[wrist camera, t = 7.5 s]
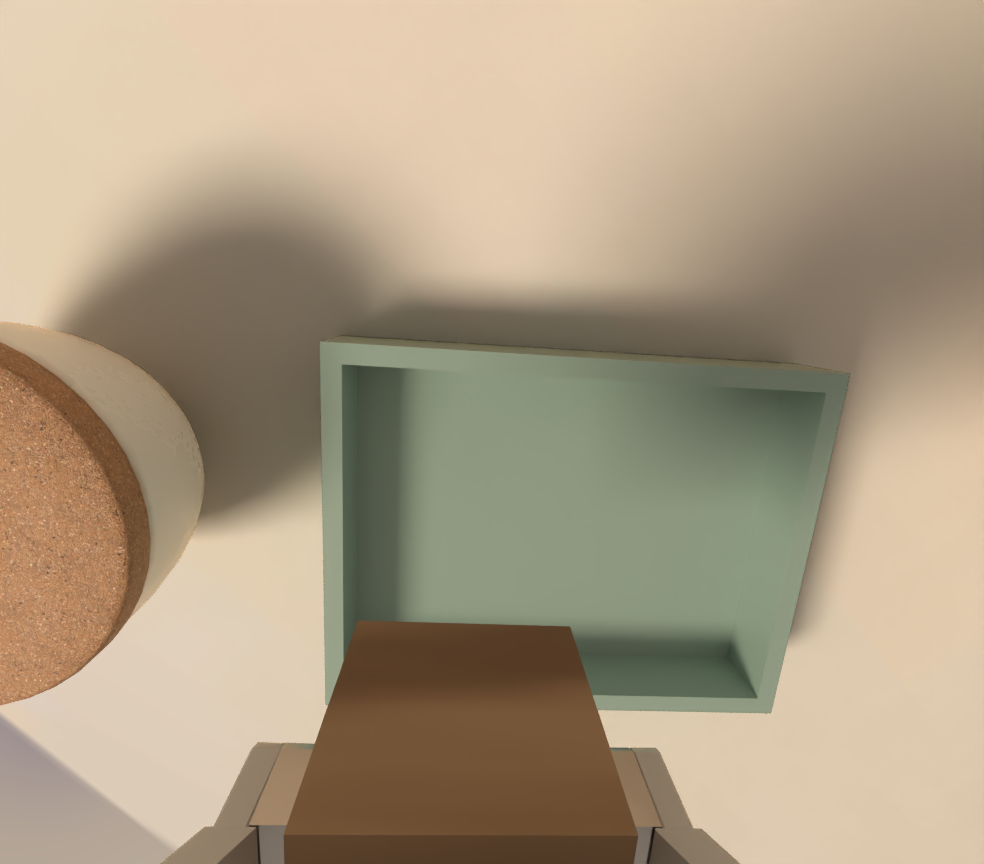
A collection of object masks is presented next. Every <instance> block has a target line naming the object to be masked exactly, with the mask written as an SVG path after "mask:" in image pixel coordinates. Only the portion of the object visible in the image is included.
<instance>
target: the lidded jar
mask: <svg viewBox="0 0 984 864" xmlns="http://www.w3.org/2000/svg"><path fill="white" fill-rule="evenodd" d="M203 491H204V471H203V461H202V457H201V453H200V449H199V445H198V442H197V439H196V437H195V435H194V432H193V430H192V428H191V425H190V423H189V421H188V420H187V418H186V417H185V415H184V413H183V412H182V410H181V408H180V407H179V406H178V404H177V403H176V402H175V401H174V399H173V398H172V397H171V396H170V395H169V393H168V392H167V391H166V390H165V389H164V388H163V387H162V386H161V385H160V384H159V383H158V382H157V381H156V380H155V379H154V378H152V377H151V376H150V375H149V374H148V373H147V372H145V371H144V370H143V369H141V368H140V367H138V366H137V365H135V364H134V363H133V362H131V361H130V360H128V359H126V358H124V357H122V356H120V355H118V354H117V353H115V352H113V351H111V350H109V349H107V348H105V347H103V346H100V345H98V344H96V343H94V342H91V341H88V340H85V339H83V338H80V337H77V336H74V335H71V334H68V333H63V332H59V331H54V330H50V329H45V328H40V327H35V326H30V325H25V324H21V323H11V322H2V321H0V705H3V704H7V703H11V702H15V701H19V700H23V699H26V698H30V697H32V696H34V695H37V694H39V693H42V692H44V691H46V690H49V689H51V688H53V687H55V686H57V685H59V684H60V683H62V682H63V681H65V680H66V679H68V678H70V677H71V676H73V675H74V674H76V673H77V672H79V671H80V670H81V669H82V668H83V667H84V666H85V665H86V664H88V663H89V662H90V661H91V660H92V659H93V658H94V657H95V656H96V655H97V654H98V653H99V652H101V651H102V650H103V649H104V648H105V647H106V646H107V645H108V644H109V643H110V642H111V641H112V640H113V639H114V638H115V636H116V635H117V634H118V633H119V631H120V630H121V629H122V627H123V626H124V625H125V623H126V622H127V621H128V619H129V618H130V617H131V616H133V615H134V614H135V613H136V612H137V611H138V610H139V609H140V608H141V607H142V606H143V605H144V604H145V603H146V601H147V600H148V599H149V598H150V597H151V596H152V595H153V594H154V593H155V591H156V590H157V589H158V587H159V586H160V585H161V584H162V582H163V581H164V580H165V578H166V577H167V576H168V574H169V573H170V572H171V570H172V569H173V568H174V566H175V565H176V564H177V562H178V561H179V559H180V557H181V556H182V554H183V552H184V550H185V548H186V546H187V544H188V542H189V540H190V538H191V536H192V534H193V532H194V530H195V528H196V524H197V521H198V517H199V514H200V510H201V505H202V501H203Z"/></svg>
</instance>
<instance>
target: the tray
mask: <svg viewBox="0 0 984 864" xmlns="http://www.w3.org/2000/svg"><path fill="white" fill-rule="evenodd" d="M849 378H850V374H848V373H843V372H837V371H832V370H827V369H821V368H816V367H811V366H805V365H800V364H794V363H778V362H762V361H746V360H729V359H713V358H697V357H681V356H665V355H649V354H632V353H616V352H600V351H584V350H568V349H552V348H536V347H519V346H503V345H487V344H471V343H455V342H439V341H423V340H406V339H390V338H374V337H358V336H339V337H335V338H331V339H327V340H324V341H320V394H321V456H322V517H323V579H324V641H325V702H326V705H329V702H330V699H331V696H332V693H333V690H334V687H335V684H336V681H337V679H338V676H339V673H340V670H341V667H342V664H343V661H344V658H345V656H346V653H347V650H348V647H349V644H350V641H351V638H352V635H353V632H354V630H355V627H356V624H357V621H358V620H360V621H396V622H431V623H467V624H502V625H538V626H570V628H571V631H572V634H573V637H574V640H575V643H576V646H577V649H578V652H579V655H580V658H581V661H582V664H583V667H584V670H585V674H586V677H587V680H588V683H589V686H590V689H591V692H592V695H593V698H594V701H595V704H596V707H597V710H624V711H677V712H729V713H771V711H772V707H773V703H774V698H775V694H776V690H777V685H778V681H779V677H780V673H781V668H782V664H783V660H784V656H785V651H786V647H787V643H788V639H789V634H790V630H791V626H792V621H793V617H794V613H795V609H796V604H797V600H798V596H799V592H800V587H801V583H802V579H803V574H804V570H805V566H806V562H807V557H808V553H809V549H810V545H811V540H812V536H813V532H814V527H815V523H816V519H817V515H818V510H819V506H820V502H821V498H822V493H823V489H824V485H825V481H826V476H827V472H828V468H829V463H830V459H831V455H832V451H833V446H834V442H835V438H836V434H837V429H838V425H839V421H840V416H841V412H842V408H843V404H844V399H845V395H846V391H847V387H848V382H849Z"/></svg>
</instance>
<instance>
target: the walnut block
mask: <svg viewBox="0 0 984 864" xmlns="http://www.w3.org/2000/svg"><path fill="white" fill-rule="evenodd" d="M283 838H284V864H634V859H635V853H636V847H637V841H638V833H637V830H636V827H635V824H634V821H633V818H632V814H631V811H630V808H629V805H628V802H627V799H626V796H625V793H624V790H623V787H622V784H621V781H620V778H619V775H618V772H617V769H616V765H615V762H614V759H613V756H612V753H611V750H610V747H609V744H608V741H607V738H606V735H605V732H604V729H603V726H602V723H601V719H600V716H599V713H598V710H597V707H596V704H595V701H594V698H593V695H592V692H591V689H590V686H589V683H588V680H587V677H586V674H585V670H584V667H583V664H582V661H581V658H580V655H579V652H578V649H577V646H576V643H575V640H574V637H573V634H572V631H571V628H570V626H538V625H502V624H467V623H431V622H396V621H360V620H358V621H357V624H356V627H355V630H354V632H353V635H352V638H351V641H350V644H349V647H348V650H347V653H346V656H345V658H344V661H343V664H342V667H341V670H340V673H339V676H338V679H337V681H336V684H335V687H334V690H333V693H332V696H331V699H330V702H329V705H328V707H327V710H326V713H325V716H324V719H323V722H322V725H321V728H320V731H319V733H318V736H317V739H316V742H315V745H314V748H313V751H312V754H311V757H310V759H309V762H308V765H307V768H306V771H305V774H304V777H303V780H302V783H301V785H300V788H299V791H298V794H297V797H296V800H295V803H294V806H293V809H292V811H291V814H290V817H289V820H288V823H287V826H286V829H285V832H284V835H283Z"/></svg>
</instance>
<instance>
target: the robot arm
mask: <svg viewBox="0 0 984 864" xmlns="http://www.w3.org/2000/svg"><path fill="white" fill-rule="evenodd" d="M314 745H315V744H305V743H266V742H258V743H257V744H256V745H255V746H254V747H253V748H252V749H251V751H250V753H249V755H248V757H247V759H246V761H245V764H244V766H243V768H242V770H241V772H240V774H239V776H238V778H237V780H236V782H235V784H234V786H233V788H232V790H231V792H230V794H229V796H228V798H227V800H226V802H225V804H224V806H223V808H222V810H221V813H220V815H219V817H218V819H217V821H216V823H215V825H214V827H204V828H203V829H201V830H200V831H199V832H198V833H197V834H195V835H194V836H193V837H192V838H191V839H189V840H188V841H187V842H186V843H185V844H183V845H182V846H181V847H180V848H179V849H177V850H176V851H175V852H174V853H173V854H171V855H170V856H169V857H168V858H167V859H165V860H164V861H163V862H162V863H161V864H284V838H283V835H284V832H285V829H286V826H287V823H288V820H289V817H290V814H291V811H292V809H293V806H294V803H295V800H296V797H297V794H298V791H299V788H300V785H301V783H302V780H303V777H304V774H305V771H306V768H307V765H308V762H309V759H310V757H311V754H312V751H313V748H314ZM610 750H611V753H612V756H613V759H614V762H615V765H616V769H617V772H618V775H619V778H620V781H621V784H622V787H623V790H624V793H625V796H626V799H627V802H628V805H629V808H630V811H631V814H632V818H633V821H634V824H635V827H636V830H637V833H638V841H637V847H636V853H635V859H634V864H740V863H739V862H738V861H737V860H736V859H734V858H733V857H732V856H731V855H730V854H729V853H728V852H727V851H726V850H724V849H723V848H722V847H721V846H720V845H719V844H718V843H717V842H716V841H715V840H713V839H712V838H711V837H710V836H709V835H708V834H707V833H706V832H705V831H703V830H702V829H695V828H693V826H692V824H691V822H690V819H689V817H688V815H687V813H686V810H685V808H684V806H683V803H682V801H681V799H680V797H679V794H678V792H677V790H676V788H675V785H674V783H673V781H672V779H671V776H670V774H669V772H668V770H667V767H666V765H665V763H664V761H663V758H662V756H661V754H660V752H659V751H658V750H657V749H656V748H630V749H629V748H610Z"/></svg>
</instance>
